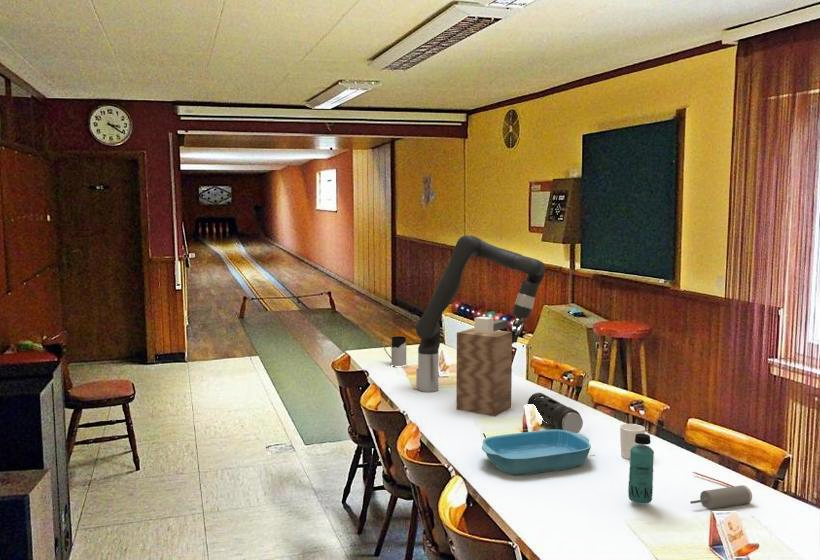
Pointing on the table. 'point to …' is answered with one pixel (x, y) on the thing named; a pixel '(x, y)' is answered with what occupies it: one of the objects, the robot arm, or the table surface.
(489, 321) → the plug
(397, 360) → the glass holder
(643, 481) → the beverage bottle
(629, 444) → the white cup
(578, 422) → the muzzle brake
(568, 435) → the casserole dish
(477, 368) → the stand
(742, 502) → the motor
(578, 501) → the table surface
